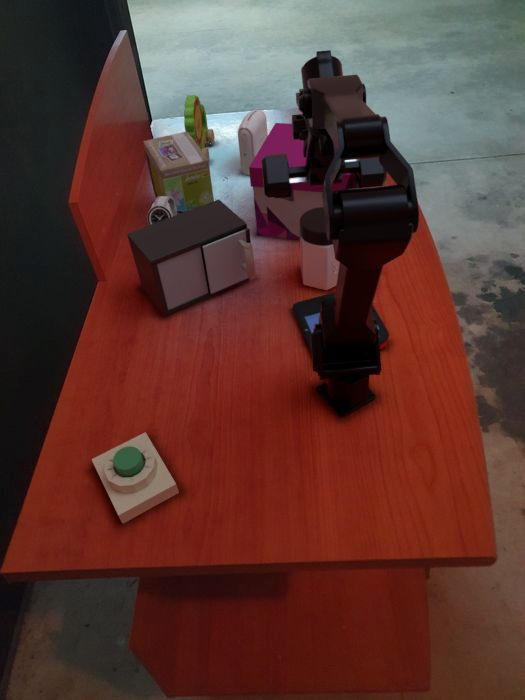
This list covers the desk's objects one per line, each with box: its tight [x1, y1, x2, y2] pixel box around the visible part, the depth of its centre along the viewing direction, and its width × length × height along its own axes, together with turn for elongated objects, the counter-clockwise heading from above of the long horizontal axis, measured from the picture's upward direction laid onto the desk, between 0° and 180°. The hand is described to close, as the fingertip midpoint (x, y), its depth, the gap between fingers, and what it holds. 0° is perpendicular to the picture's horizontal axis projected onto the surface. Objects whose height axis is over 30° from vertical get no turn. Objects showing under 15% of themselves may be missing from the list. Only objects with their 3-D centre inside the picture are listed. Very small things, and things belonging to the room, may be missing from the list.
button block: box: [91, 431, 180, 525], centre depth 75 cm, size 10×8×4 cm
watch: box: [146, 196, 177, 226], centre depth 110 cm, size 6×8×11 cm
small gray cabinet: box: [126, 199, 251, 318], centre depth 102 cm, size 10×18×12 cm, turn 122°
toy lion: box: [183, 94, 215, 162], centre depth 136 cm, size 16×5×15 cm, turn 176°
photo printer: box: [237, 109, 269, 176], centre depth 132 cm, size 10×4×12 cm, turn 160°
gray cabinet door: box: [202, 227, 256, 294], centre depth 98 cm, size 4×9×10 cm, turn 122°
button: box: [113, 446, 144, 477], centre depth 74 cm, size 4×4×2 cm
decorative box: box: [249, 122, 350, 241], centre depth 114 cm, size 19×19×15 cm
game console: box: [292, 291, 390, 355], centre depth 94 cm, size 14×13×2 cm
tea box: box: [143, 131, 215, 215], centre depth 118 cm, size 15×10×15 cm, turn 22°
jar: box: [299, 207, 340, 291], centre depth 101 cm, size 9×8×12 cm
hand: (319, 196), depth 96 cm, fingers open, 9 cm apart
